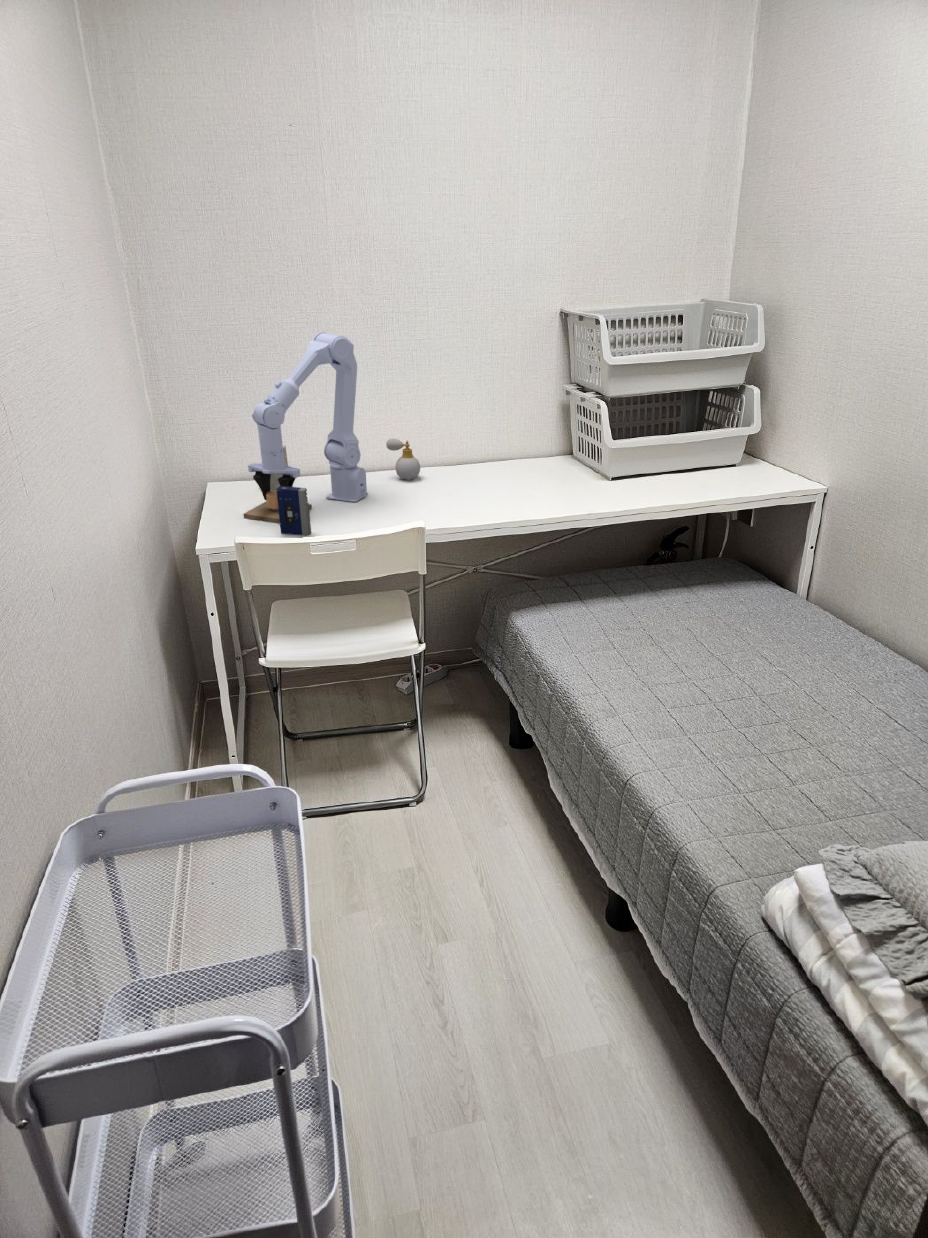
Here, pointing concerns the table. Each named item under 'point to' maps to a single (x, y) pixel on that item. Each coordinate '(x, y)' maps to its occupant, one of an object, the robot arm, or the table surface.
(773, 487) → the table surface
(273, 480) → the skincare box
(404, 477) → the perfume bottle
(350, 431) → the robot arm
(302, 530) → the cassette player
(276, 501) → the cap
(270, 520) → the stud block
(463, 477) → the table surface
